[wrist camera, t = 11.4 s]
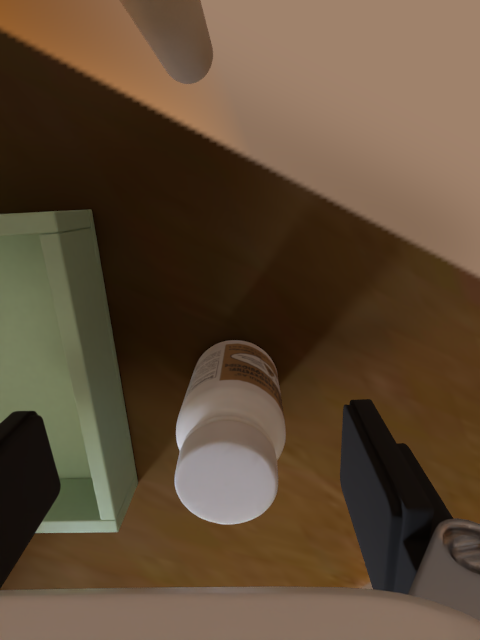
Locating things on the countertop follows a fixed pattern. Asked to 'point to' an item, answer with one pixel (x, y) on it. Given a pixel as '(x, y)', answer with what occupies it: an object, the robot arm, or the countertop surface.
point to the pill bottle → (230, 434)
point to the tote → (65, 364)
